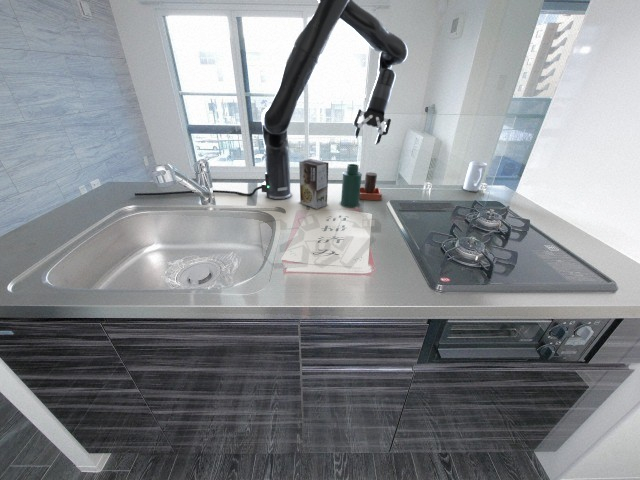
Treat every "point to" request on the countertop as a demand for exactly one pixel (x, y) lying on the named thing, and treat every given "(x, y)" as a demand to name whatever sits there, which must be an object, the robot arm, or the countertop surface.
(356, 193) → the flask
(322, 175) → the coffee box
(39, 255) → the countertop surface
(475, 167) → the mug
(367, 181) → the stopper
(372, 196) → the tray
